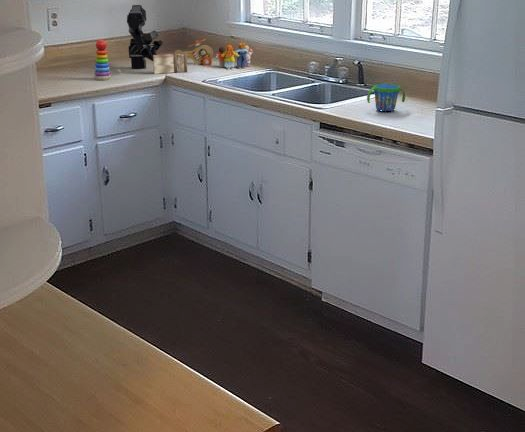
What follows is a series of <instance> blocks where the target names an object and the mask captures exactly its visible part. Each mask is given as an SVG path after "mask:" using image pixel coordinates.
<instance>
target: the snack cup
mask: <svg viewBox="0 0 525 432" xmlns="http://www.w3.org/2000/svg"><path fill="white" fill-rule="evenodd" d="M400 90H401V91H402V96H401V97H402V98H401V102H402V103H405V100H406V92H405V90H404V89H403V88H402V87H400V85H397V84H393V83H377V84H374V85H373V87H371V88H370V89H369V90H368V92H367V96H366V101H367V103H368V104H370V103H371V102H370V101H371V100H370V98H371V92H372V91H374V100H375V101H374V102H375V109H377V110H382V111H392V110H394V109H395V110H396V106H397V102H398V96H399V93H400ZM377 110H376V111H377ZM395 110H394V111H395Z"/></svg>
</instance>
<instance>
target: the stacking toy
mask: <svg viewBox="0 0 525 432" xmlns="http://www.w3.org/2000/svg"><path fill="white" fill-rule="evenodd" d="M107 45H108V44H107V42H106V41H105V40H103V39H98V40H96V42H95V47H96V49H97V50H96V51H95V53H96V54H95V64H94V66H95V67H94V72H93V73H94V77H93V79H95V80H96V81H108V80H110V79H111V78H112V76H111V71H110V66H109V65H110V63H109V59H108V51H107V50H106V48H107Z"/></svg>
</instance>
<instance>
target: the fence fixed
mask: <svg viewBox="0 0 525 432" xmlns="http://www.w3.org/2000/svg"><path fill="white" fill-rule="evenodd" d="M177 56H178V59H177V70H178V72H177V73H188V58H187V53H183V54H177Z"/></svg>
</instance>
